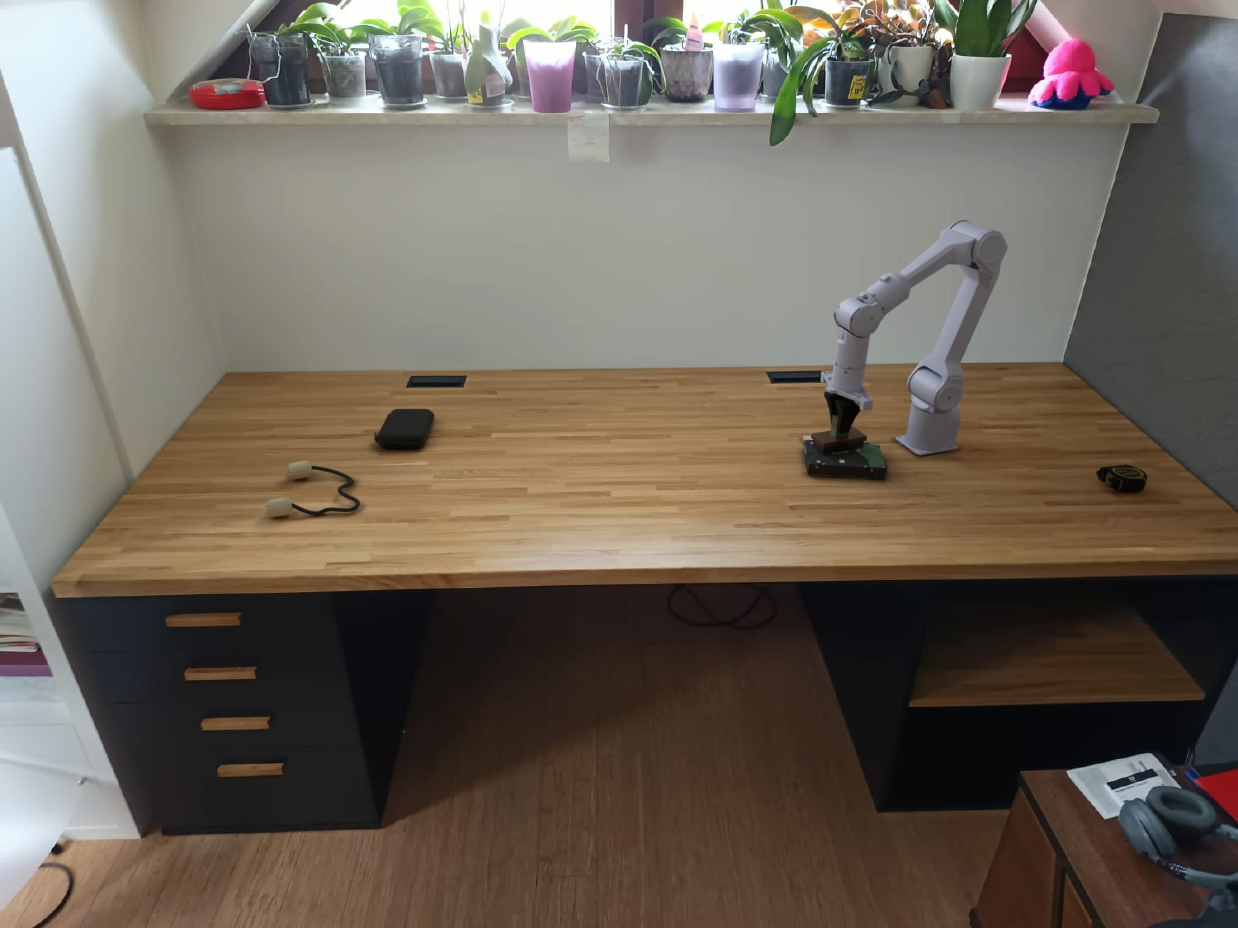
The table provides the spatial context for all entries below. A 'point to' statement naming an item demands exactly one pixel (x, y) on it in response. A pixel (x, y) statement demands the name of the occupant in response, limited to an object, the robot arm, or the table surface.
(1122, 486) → the tape measure
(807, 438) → the eraser
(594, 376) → the table surface
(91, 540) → the table surface
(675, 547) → the table surface
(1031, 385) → the table surface
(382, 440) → the carrying case
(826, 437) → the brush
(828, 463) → the disk drive
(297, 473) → the cable
